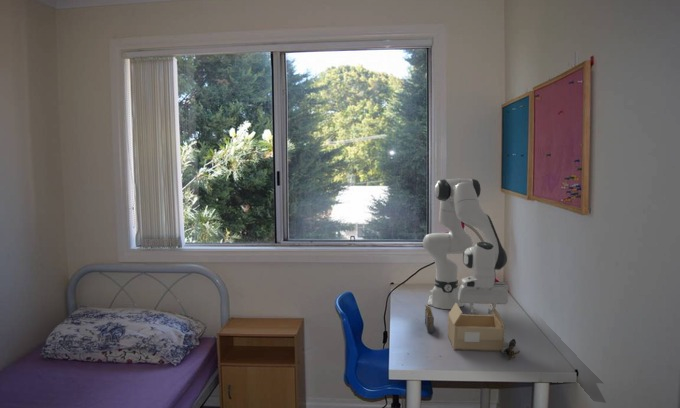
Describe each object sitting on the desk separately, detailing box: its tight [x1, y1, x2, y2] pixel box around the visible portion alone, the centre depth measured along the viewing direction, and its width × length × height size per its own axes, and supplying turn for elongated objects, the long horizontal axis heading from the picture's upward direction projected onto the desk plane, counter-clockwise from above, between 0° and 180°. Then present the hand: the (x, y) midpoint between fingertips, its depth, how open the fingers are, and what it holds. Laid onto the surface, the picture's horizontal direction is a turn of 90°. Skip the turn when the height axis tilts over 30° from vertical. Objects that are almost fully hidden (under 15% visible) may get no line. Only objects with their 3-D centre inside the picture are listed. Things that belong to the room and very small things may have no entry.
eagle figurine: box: [499, 338, 521, 361], centre depth 191 cm, size 8×7×9 cm
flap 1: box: [448, 303, 463, 325], centre depth 203 cm, size 13×1×6 cm
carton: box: [447, 313, 505, 352], centre depth 203 cm, size 16×20×10 cm
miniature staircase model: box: [424, 304, 435, 334], centre depth 221 cm, size 11×3×10 cm, turn 175°
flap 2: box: [489, 304, 505, 327], centre depth 202 cm, size 13×1×6 cm, turn 177°
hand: (481, 313), depth 202 cm, fingers open, 6 cm apart
